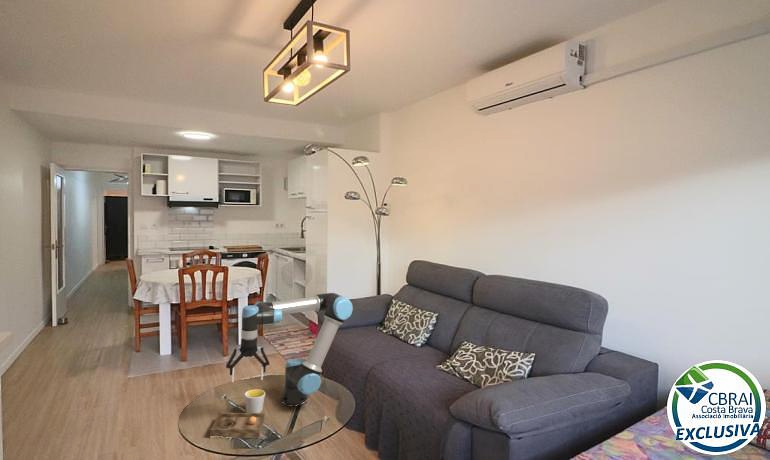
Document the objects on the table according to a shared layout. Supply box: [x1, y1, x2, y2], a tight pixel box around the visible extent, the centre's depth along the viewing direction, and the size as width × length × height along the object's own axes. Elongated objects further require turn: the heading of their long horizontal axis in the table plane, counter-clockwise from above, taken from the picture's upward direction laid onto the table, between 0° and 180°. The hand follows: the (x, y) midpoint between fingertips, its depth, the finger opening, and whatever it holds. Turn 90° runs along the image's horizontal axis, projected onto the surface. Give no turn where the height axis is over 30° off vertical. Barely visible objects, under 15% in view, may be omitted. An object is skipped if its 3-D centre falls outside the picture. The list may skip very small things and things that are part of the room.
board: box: [209, 412, 266, 439], centre depth 203 cm, size 22×16×4 cm
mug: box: [244, 389, 266, 413], centre depth 221 cm, size 14×10×10 cm
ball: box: [249, 417, 256, 424], centre depth 204 cm, size 4×4×4 cm
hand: (247, 380), depth 207 cm, fingers open, 13 cm apart
